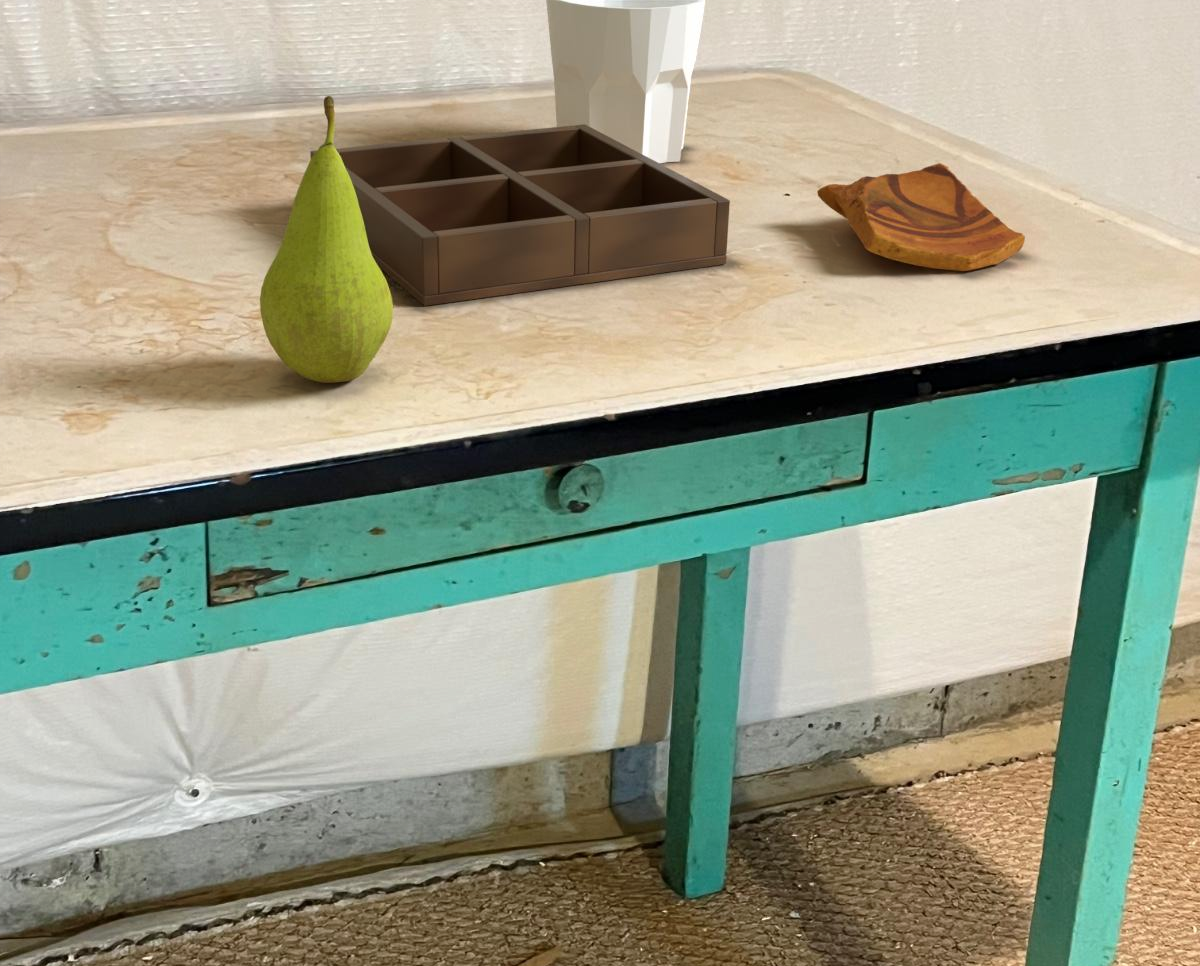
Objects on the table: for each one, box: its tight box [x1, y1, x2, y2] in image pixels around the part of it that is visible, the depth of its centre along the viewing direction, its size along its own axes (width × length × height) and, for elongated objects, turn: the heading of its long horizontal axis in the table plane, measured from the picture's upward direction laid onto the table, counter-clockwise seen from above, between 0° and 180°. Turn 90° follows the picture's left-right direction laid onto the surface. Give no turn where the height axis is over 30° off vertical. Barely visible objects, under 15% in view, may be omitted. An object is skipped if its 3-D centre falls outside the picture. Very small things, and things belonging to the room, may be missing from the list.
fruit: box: [259, 95, 394, 384], centre depth 73 cm, size 6×6×12 cm
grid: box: [309, 124, 731, 307], centre depth 94 cm, size 17×17×4 cm
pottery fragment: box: [816, 162, 1026, 272], centre depth 94 cm, size 10×5×10 cm
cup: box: [545, 0, 707, 164], centre depth 109 cm, size 10×10×10 cm
